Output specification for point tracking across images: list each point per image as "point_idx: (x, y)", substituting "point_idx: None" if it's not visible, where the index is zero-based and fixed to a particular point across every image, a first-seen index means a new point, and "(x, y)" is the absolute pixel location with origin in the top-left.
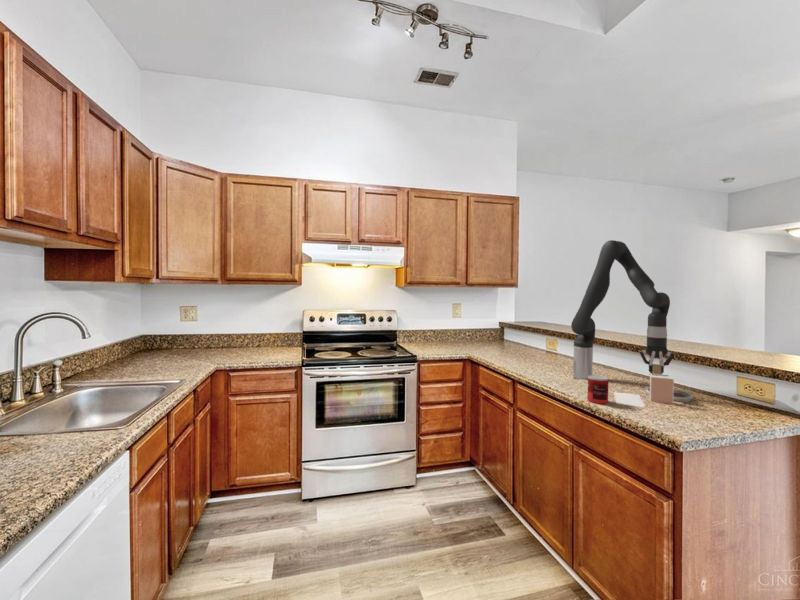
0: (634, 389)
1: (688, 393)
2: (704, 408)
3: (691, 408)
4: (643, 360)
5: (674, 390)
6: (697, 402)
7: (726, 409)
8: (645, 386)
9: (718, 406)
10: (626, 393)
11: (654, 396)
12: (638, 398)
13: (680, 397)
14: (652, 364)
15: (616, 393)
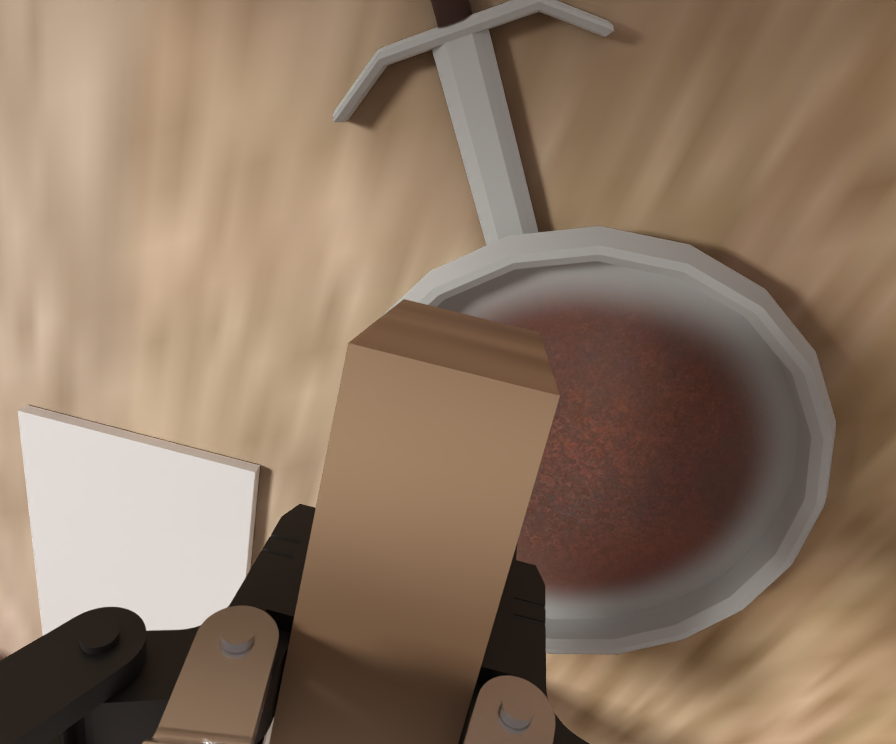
0: (268, 170)
1: (809, 491)
2: (697, 728)
3: (581, 733)
4: (20, 672)
5: (745, 314)
6: (768, 592)
7: (888, 738)
8: (443, 40)
9: (889, 678)
10: (137, 443)
11: None
12: (223, 583)
13: (585, 652)
14: (277, 707)
15: (45, 457)
